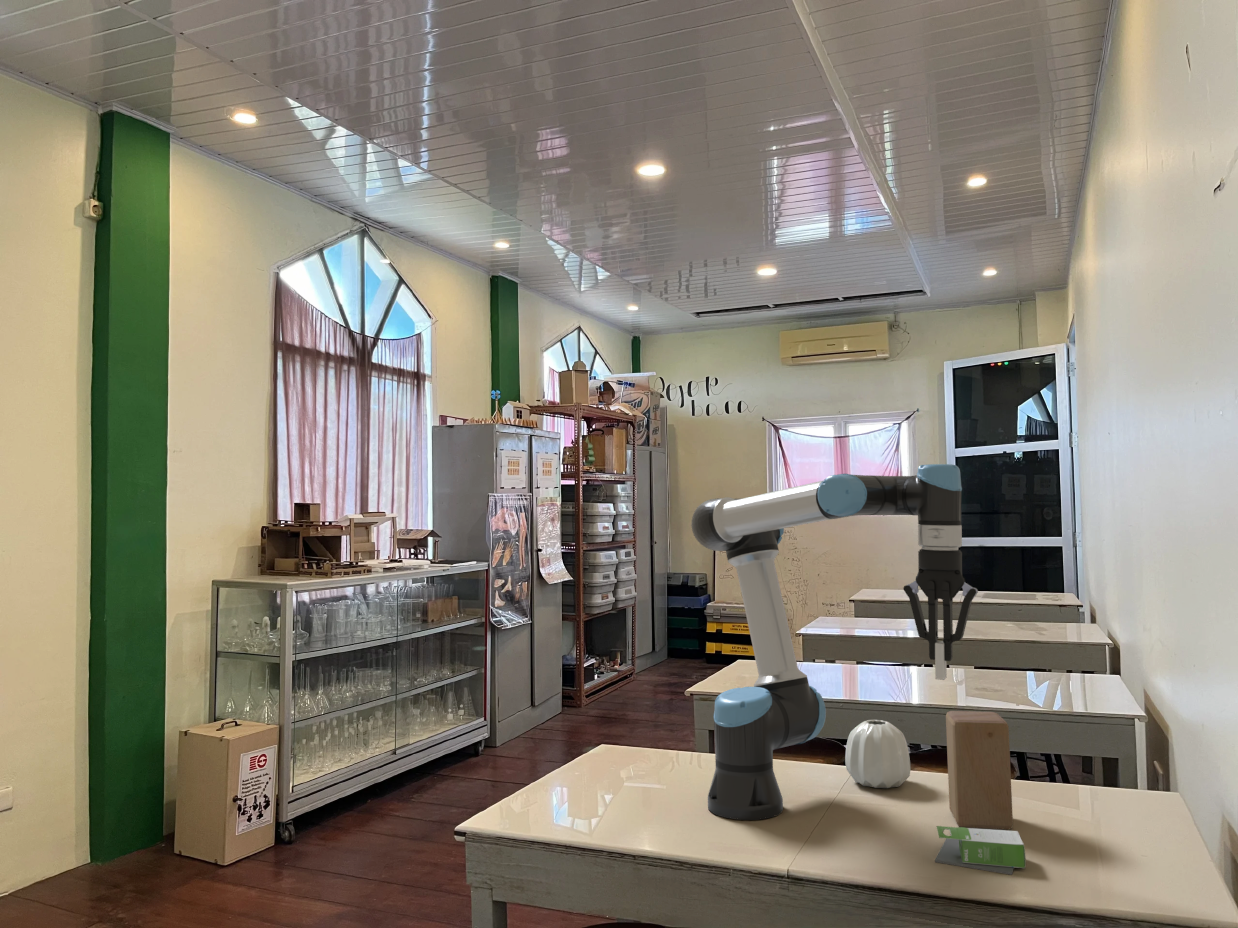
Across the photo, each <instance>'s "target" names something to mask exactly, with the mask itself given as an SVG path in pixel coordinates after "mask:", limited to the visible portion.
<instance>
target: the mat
mask: <svg viewBox="0 0 1238 928" xmlns="http://www.w3.org/2000/svg"><path fill="white" fill-rule="evenodd" d="M934 862H935V863H939V864H945V865H951V866H957V867H964V868H969V869H974V870H980V871H988V872H993V873H1000V874H1005V875H1010V876H1012V875H1013V872H1014V869H1015V867H1004V866H993V865H982V864H971V863H963V862H962V858H961V854H960V849H959V840H957V839H946V838H945V839H944V842H943V844H942V846H941V848H940V850H939V852H938V853H937V855H936V857H935V858H934Z"/></svg>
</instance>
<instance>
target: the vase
mask: <svg viewBox="0 0 1238 928" xmlns="http://www.w3.org/2000/svg"><path fill="white" fill-rule="evenodd" d="M908 747H909V746H908V743H907V739H906V737H905V735H904V733H903V732H902V731H901V730H900V729H899V728H898V727H896V726H895V725H894V724H892V723H891V722H889V721H886V720H881V719H868V720H864V721H861V723H859V724H858V725H856V727H854V728H852V730H851V731H850V733H849V735H848V737H847V742H846V748H845V759H844V760H845V761H844V763H845V769H846V771H847V772H848V774H849V775H850V776H851V778H852V779H853V780H854V781H855V783H857V784H861V785H862V786H863V787H872V788H874V789H890V788H896V787H900V786H902V784H903V783H904V782H906V781H907V780H908V778H909V777H910V776H911V760H910V753H909V748H908Z"/></svg>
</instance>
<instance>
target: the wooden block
mask: <svg viewBox="0 0 1238 928" xmlns="http://www.w3.org/2000/svg"><path fill="white" fill-rule="evenodd" d="M945 725H946V726H945V730H946V751H947V753H946V754H947V756H946V757H947V779H948V804H949V805H948V807H949V810H950V811H949V812H951V814H952V817H953V819H954V820H955V822H956V825H957V826H958V827H964V828H975V829H991V830H1007V831H1009V830H1012V828H1013V826H1014V818H1013V817H1014V816H1013V797H1012V795H1013V794H1012V776H1011V775H1012V774H1011V771H1012V770H1011V751H1010V749H1011V748H1010V730H1009V729H1010V728H1009V724H1008V722H1007V721H1006V720H1005V719H1004V718H1003V717H1002V716H1001V715H1000V714H999V713H997V712H994V711H976V710H975V711H969V710H967V711H965V710H950V711H947V712H946V715H945Z"/></svg>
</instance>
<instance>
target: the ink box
mask: <svg viewBox="0 0 1238 928" xmlns="http://www.w3.org/2000/svg"><path fill="white" fill-rule="evenodd" d="M936 829H937V830H936V831H937V834H938V838H939V839H945V840H946V839H957V840H959V849H960V854H961V858H962V862H963V863H971V864H982V865H993V866H1004V867H1014V869H1015V868H1016V869H1026V865H1027V864H1026V863H1027V861H1026V859H1027V857H1026V856H1027V855H1026V848H1025V843H1024V841H1023V840H1022V838H1021V836H1020V833H1019V831H1018V830H1001V829H981V828H964V827H960V826H958V827H955V826H954V827H953V826H942V825H937V826H936ZM946 830H948V831H949V834H950V835H948V834H947V835H946V833H944V832H945V831H946Z"/></svg>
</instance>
